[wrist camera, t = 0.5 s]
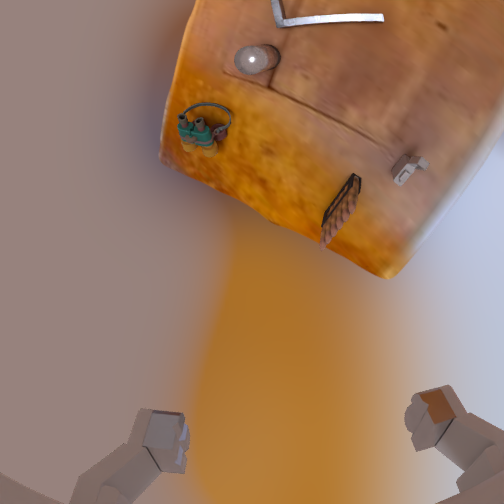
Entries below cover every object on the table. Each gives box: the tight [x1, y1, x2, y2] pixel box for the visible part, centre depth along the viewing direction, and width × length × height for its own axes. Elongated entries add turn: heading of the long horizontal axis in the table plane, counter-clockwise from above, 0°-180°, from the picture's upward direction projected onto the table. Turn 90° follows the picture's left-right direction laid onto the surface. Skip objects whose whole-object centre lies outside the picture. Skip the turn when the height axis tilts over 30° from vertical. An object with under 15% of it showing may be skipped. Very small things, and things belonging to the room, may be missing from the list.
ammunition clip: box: [320, 173, 361, 251], centre depth 50 cm, size 11×2×12 cm, turn 157°
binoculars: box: [177, 103, 231, 157], centre depth 49 cm, size 9×9×10 cm
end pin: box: [234, 45, 281, 75], centre depth 39 cm, size 5×5×9 cm
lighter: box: [392, 154, 430, 186], centre depth 43 cm, size 7×2×8 cm, turn 155°
